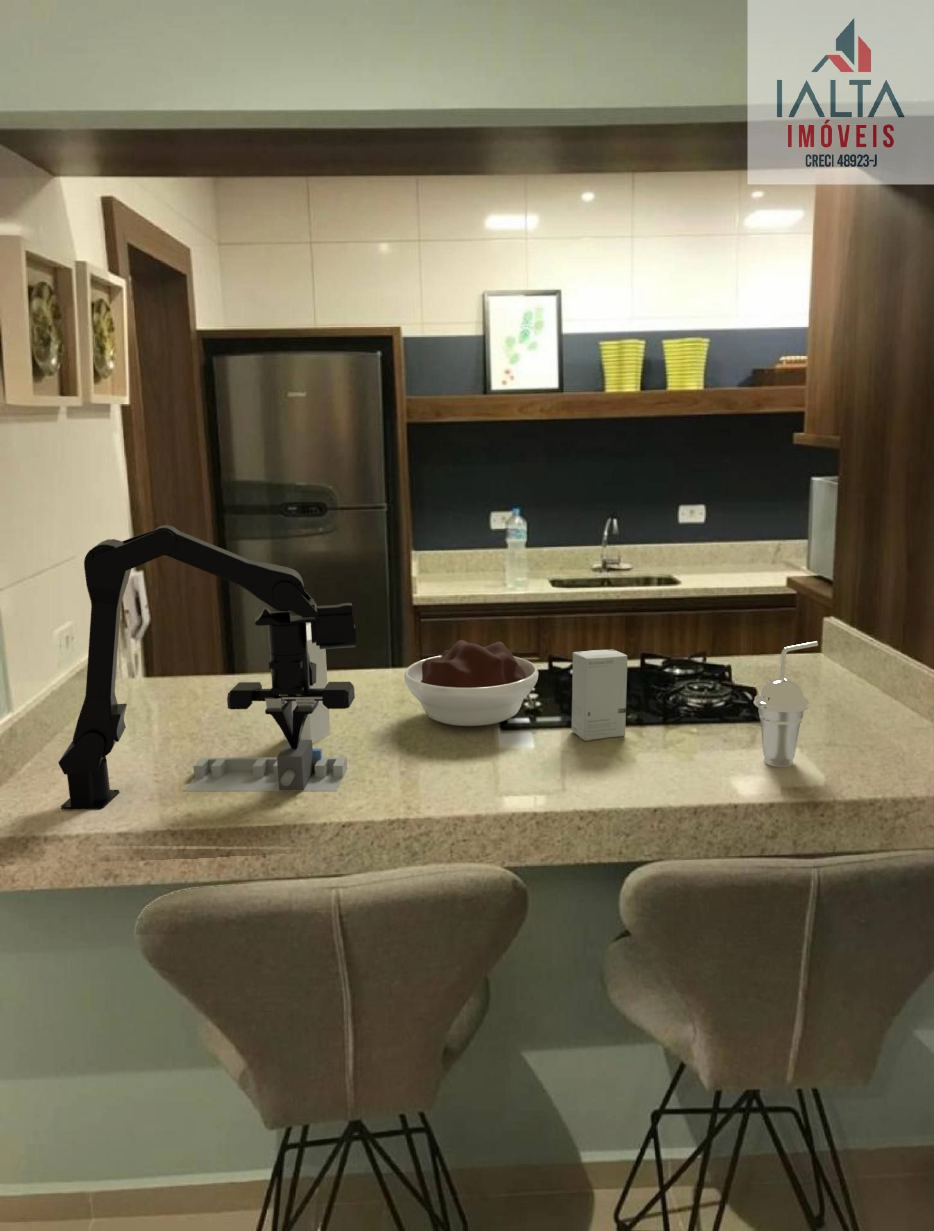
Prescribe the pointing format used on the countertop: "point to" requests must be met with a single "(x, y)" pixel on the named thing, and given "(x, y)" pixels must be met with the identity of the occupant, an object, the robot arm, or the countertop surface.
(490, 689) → the white bowl
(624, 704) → the skincare box
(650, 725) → the countertop surface
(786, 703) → the cup with straw
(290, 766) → the dark grey knobbed block
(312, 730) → the milk
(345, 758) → the grey toothed rack
